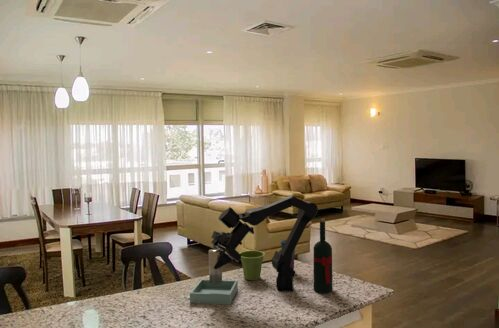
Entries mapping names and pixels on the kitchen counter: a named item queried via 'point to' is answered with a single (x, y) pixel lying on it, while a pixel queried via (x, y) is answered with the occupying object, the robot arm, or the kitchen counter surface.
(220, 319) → the kitchen counter surface
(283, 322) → the kitchen counter surface
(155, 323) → the kitchen counter surface
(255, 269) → the plant pot
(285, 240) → the cup
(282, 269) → the robot arm
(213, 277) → the canister
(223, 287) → the tray
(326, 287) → the wine bottle
